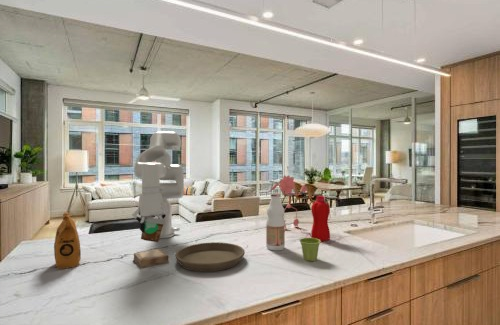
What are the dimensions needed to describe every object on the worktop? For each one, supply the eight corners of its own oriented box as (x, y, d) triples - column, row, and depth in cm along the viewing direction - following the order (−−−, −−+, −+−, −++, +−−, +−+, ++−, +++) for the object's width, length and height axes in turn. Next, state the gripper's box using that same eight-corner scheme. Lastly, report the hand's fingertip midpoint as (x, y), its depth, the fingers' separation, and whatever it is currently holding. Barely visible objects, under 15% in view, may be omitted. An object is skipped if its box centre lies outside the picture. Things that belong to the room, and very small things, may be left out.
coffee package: (52, 271, 119) (51, 217, 119) (55, 261, 130) (54, 212, 130) (80, 266, 124) (80, 215, 124) (80, 258, 135) (80, 210, 134)
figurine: (310, 227, 193) (309, 175, 194) (275, 231, 183) (274, 176, 184) (297, 223, 207) (296, 174, 208) (265, 227, 197) (264, 175, 198)
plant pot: (308, 264, 127) (308, 244, 127) (295, 257, 135) (295, 239, 135) (324, 260, 131) (325, 241, 131) (311, 254, 140) (311, 236, 140)
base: (160, 254, 139) (160, 248, 139) (168, 262, 130) (168, 255, 130) (133, 259, 132) (133, 252, 132) (141, 267, 123) (141, 260, 123)
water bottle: (325, 243, 158) (325, 197, 157) (308, 239, 166) (309, 195, 166) (334, 240, 164) (335, 196, 163) (318, 236, 172) (318, 194, 172)
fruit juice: (267, 251, 145) (267, 195, 145) (265, 245, 155) (265, 192, 154) (285, 250, 146) (286, 194, 145) (283, 245, 155) (283, 192, 155)
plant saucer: (170, 255, 140) (170, 245, 140) (231, 247, 152) (231, 238, 152) (182, 280, 111) (182, 268, 111) (255, 267, 123) (255, 257, 123)
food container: (132, 236, 130) (138, 214, 132) (144, 237, 135) (149, 215, 137) (148, 242, 123) (153, 218, 125) (160, 242, 128) (165, 219, 129)
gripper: (166, 188, 139) (167, 226, 139) (128, 191, 129) (128, 231, 129) (172, 190, 133) (172, 229, 133) (132, 192, 123) (132, 235, 123)
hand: (151, 229), depth 131 cm, fingers closed on food container, 6 cm apart
